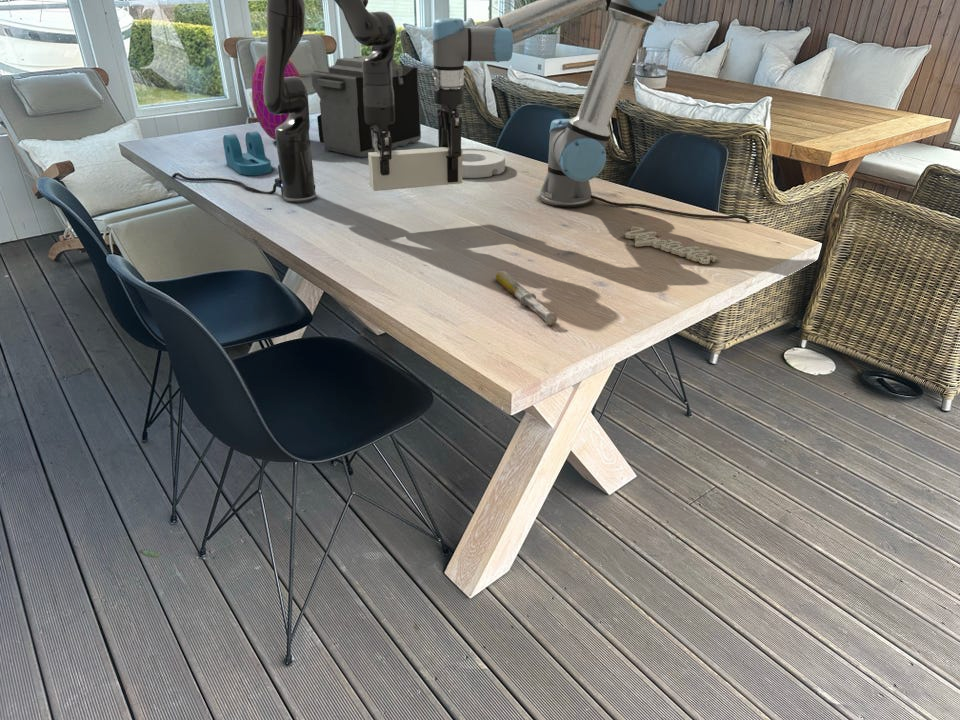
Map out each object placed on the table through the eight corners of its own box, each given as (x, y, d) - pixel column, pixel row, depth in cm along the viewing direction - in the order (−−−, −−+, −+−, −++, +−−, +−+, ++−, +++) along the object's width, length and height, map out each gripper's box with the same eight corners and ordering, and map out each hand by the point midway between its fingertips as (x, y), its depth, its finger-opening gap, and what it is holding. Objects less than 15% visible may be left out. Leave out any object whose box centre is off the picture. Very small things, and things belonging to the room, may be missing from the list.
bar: (457, 179, 187) (457, 146, 183) (462, 183, 184) (462, 150, 179) (370, 186, 180) (367, 152, 176) (373, 191, 177) (371, 156, 172)
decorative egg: (293, 132, 276) (283, 50, 261) (319, 140, 264) (310, 56, 249) (249, 139, 265) (236, 54, 250) (273, 148, 253) (261, 60, 238)
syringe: (491, 278, 153) (492, 266, 152) (507, 275, 154) (507, 264, 153) (540, 327, 133) (541, 315, 132) (557, 324, 134) (558, 312, 133)
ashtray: (439, 158, 242) (439, 147, 240) (504, 160, 242) (505, 148, 240) (433, 177, 222) (433, 164, 220) (504, 178, 222) (505, 166, 220)
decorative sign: (611, 234, 176) (635, 225, 181) (610, 237, 176) (634, 229, 182) (700, 264, 159) (723, 254, 164) (699, 268, 159) (723, 257, 165)
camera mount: (227, 164, 233) (221, 132, 227) (257, 160, 238) (252, 129, 233) (244, 176, 220) (239, 143, 215) (276, 172, 225) (271, 139, 220)
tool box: (383, 133, 276) (378, 52, 261) (425, 141, 265) (422, 56, 250) (314, 150, 251) (304, 61, 235) (358, 160, 240) (350, 67, 224)
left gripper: (358, 98, 173) (363, 166, 182) (369, 109, 162) (374, 181, 170) (387, 97, 176) (390, 164, 184) (401, 107, 164) (403, 178, 173)
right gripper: (424, 82, 178) (427, 171, 190) (445, 93, 164) (446, 189, 176) (452, 80, 181) (453, 169, 193) (474, 91, 167) (473, 187, 178)
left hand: (382, 172), depth 177 cm, fingers closed on bar, 4 cm apart
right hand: (449, 178), depth 184 cm, fingers closed on bar, 4 cm apart
